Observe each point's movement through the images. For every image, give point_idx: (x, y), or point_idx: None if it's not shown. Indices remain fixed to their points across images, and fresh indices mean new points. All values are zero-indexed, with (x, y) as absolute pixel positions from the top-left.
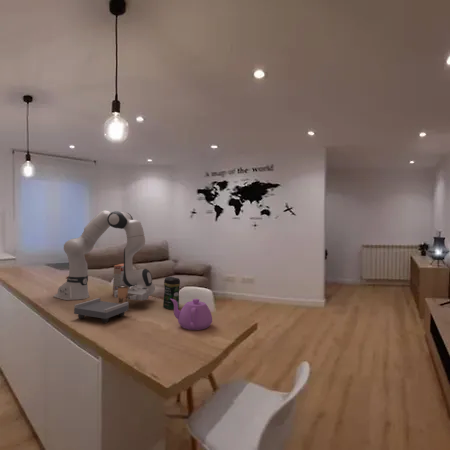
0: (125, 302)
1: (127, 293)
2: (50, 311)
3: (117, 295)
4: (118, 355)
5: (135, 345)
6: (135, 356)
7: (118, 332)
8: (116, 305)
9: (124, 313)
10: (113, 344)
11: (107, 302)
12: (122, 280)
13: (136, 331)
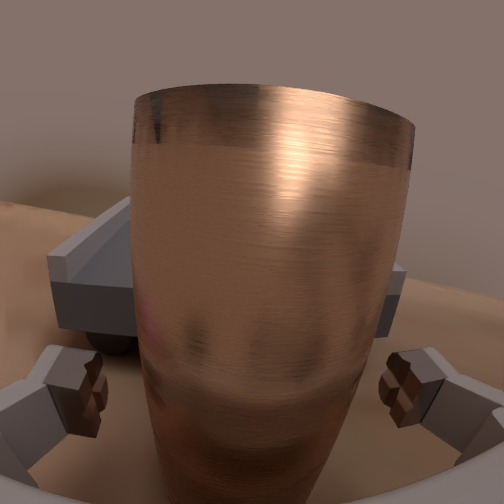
0: (71, 247)
1: (136, 316)
2: (472, 292)
3: (395, 369)
4: (37, 208)
5: (9, 222)
6: (11, 210)
7: (57, 242)
8: (110, 216)
9: (87, 332)
10: (53, 218)
11: None
12: None
13: (5, 251)
